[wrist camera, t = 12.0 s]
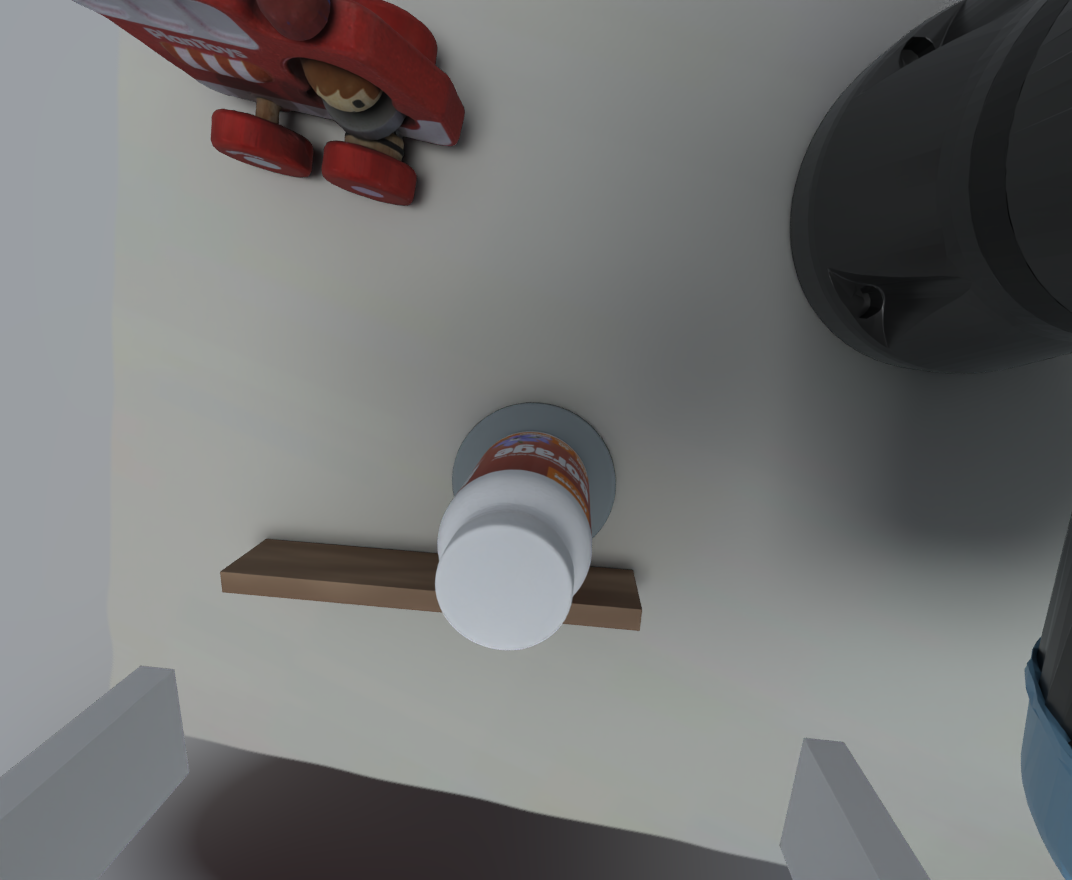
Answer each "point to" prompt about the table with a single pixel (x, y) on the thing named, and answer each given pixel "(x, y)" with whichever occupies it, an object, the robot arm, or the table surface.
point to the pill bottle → (515, 543)
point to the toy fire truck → (309, 81)
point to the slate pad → (554, 424)
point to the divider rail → (401, 581)
